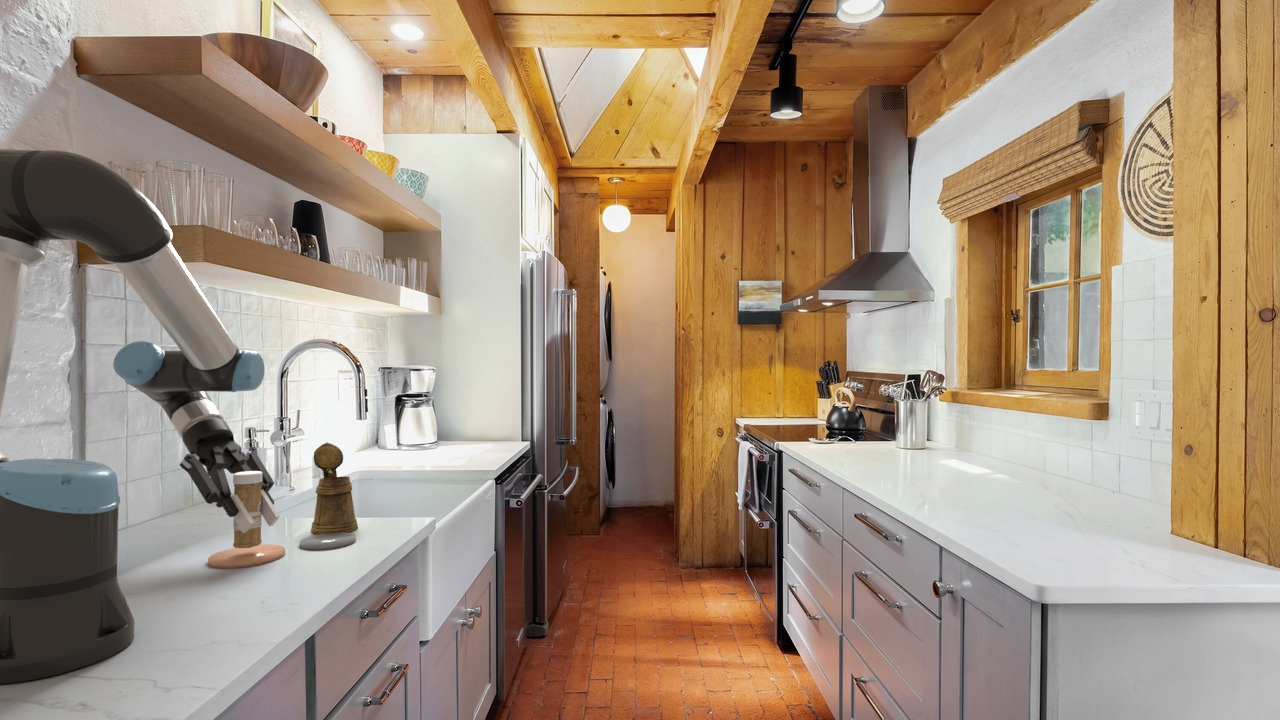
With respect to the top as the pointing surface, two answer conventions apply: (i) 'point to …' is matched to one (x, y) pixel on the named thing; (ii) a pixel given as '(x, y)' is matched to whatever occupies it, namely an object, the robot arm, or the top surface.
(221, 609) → the top surface
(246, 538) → the sprinkles bottle
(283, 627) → the top surface
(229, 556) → the terracotta coaster
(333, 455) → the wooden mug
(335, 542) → the slate coaster
